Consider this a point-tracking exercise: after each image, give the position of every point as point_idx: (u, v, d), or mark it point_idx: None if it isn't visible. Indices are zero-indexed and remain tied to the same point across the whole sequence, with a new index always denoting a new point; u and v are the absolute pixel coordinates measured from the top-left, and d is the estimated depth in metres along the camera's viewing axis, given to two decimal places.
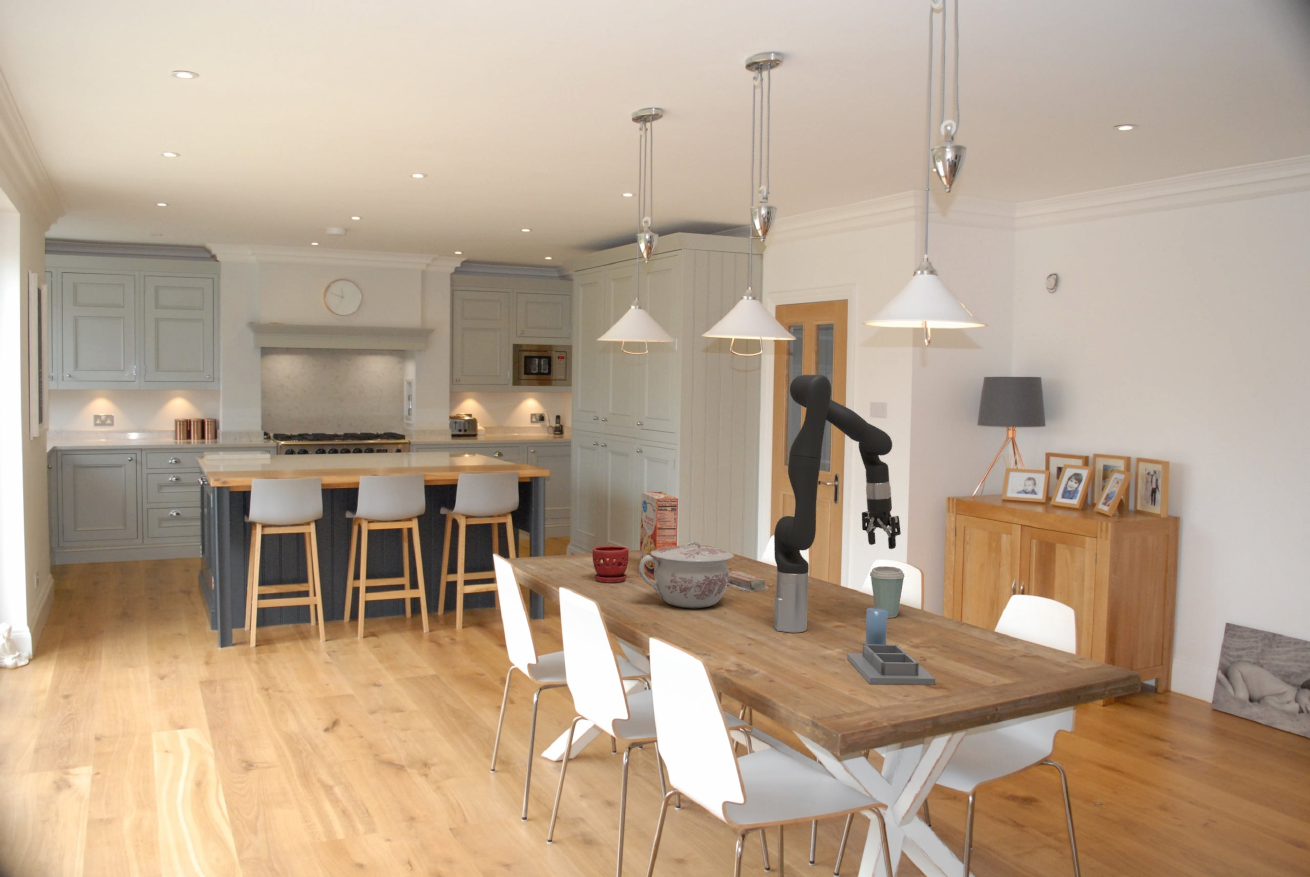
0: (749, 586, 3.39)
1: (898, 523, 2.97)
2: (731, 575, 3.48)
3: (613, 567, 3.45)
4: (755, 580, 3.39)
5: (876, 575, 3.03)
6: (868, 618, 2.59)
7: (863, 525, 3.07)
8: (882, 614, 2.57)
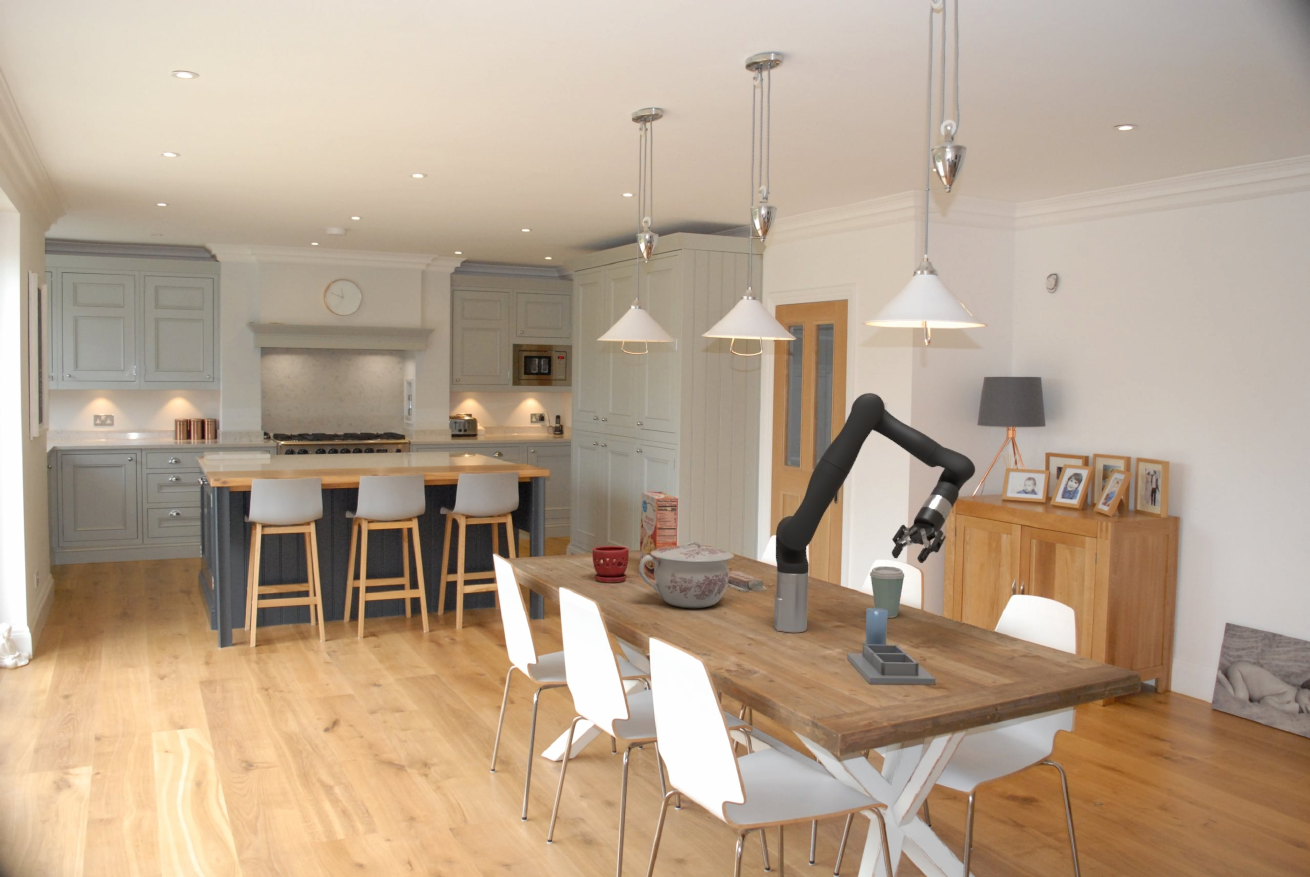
0: (746, 586, 3.38)
1: (942, 541, 2.65)
2: (730, 575, 3.48)
3: (613, 567, 3.45)
4: (753, 580, 3.39)
5: (876, 575, 3.03)
6: (868, 618, 2.59)
7: (896, 536, 2.74)
8: (881, 614, 2.57)
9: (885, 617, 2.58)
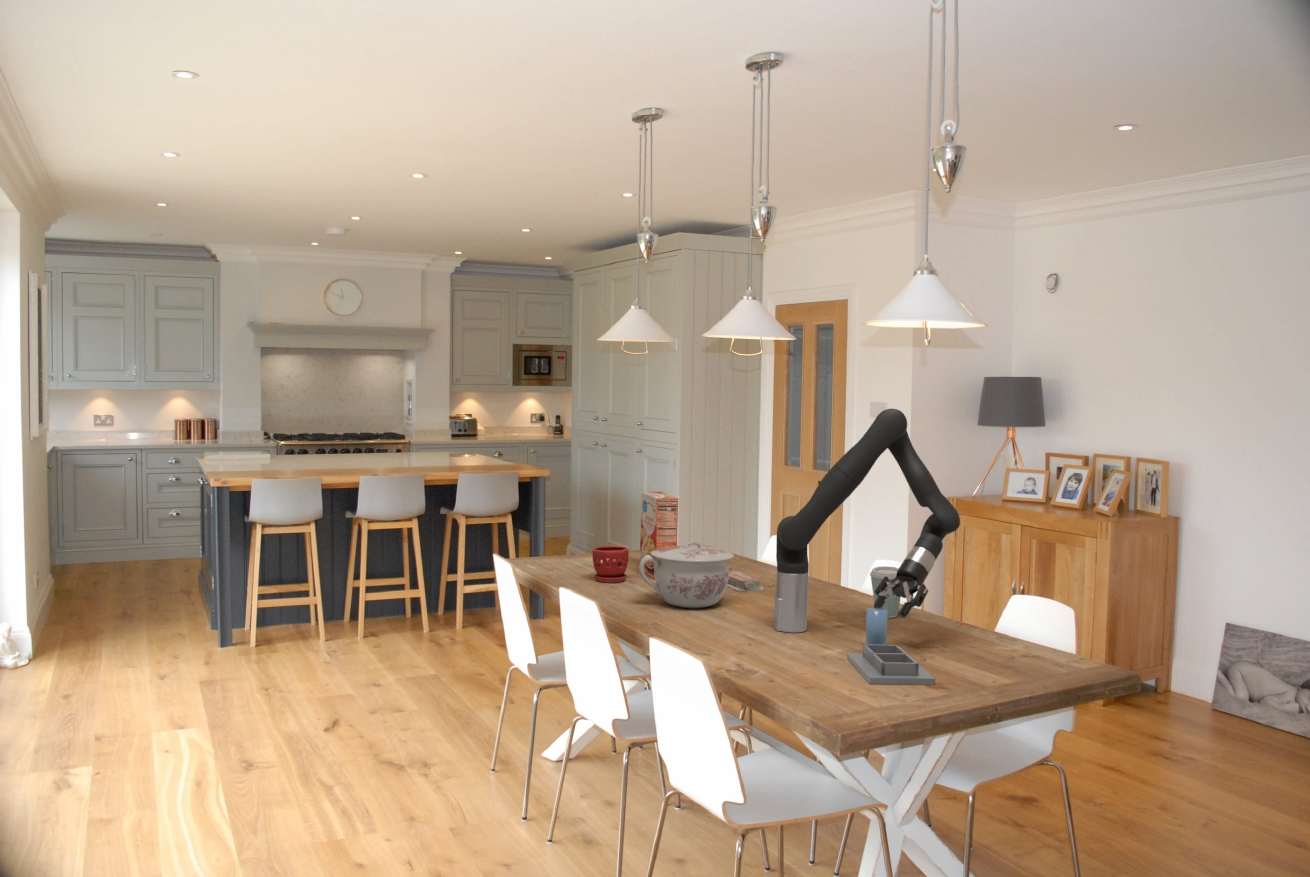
0: (743, 586, 3.38)
1: (924, 595, 2.61)
2: None
3: (613, 567, 3.45)
4: (749, 580, 3.38)
5: (876, 575, 3.03)
6: (868, 618, 2.59)
7: (878, 588, 2.70)
8: (882, 614, 2.57)
9: (885, 617, 2.58)
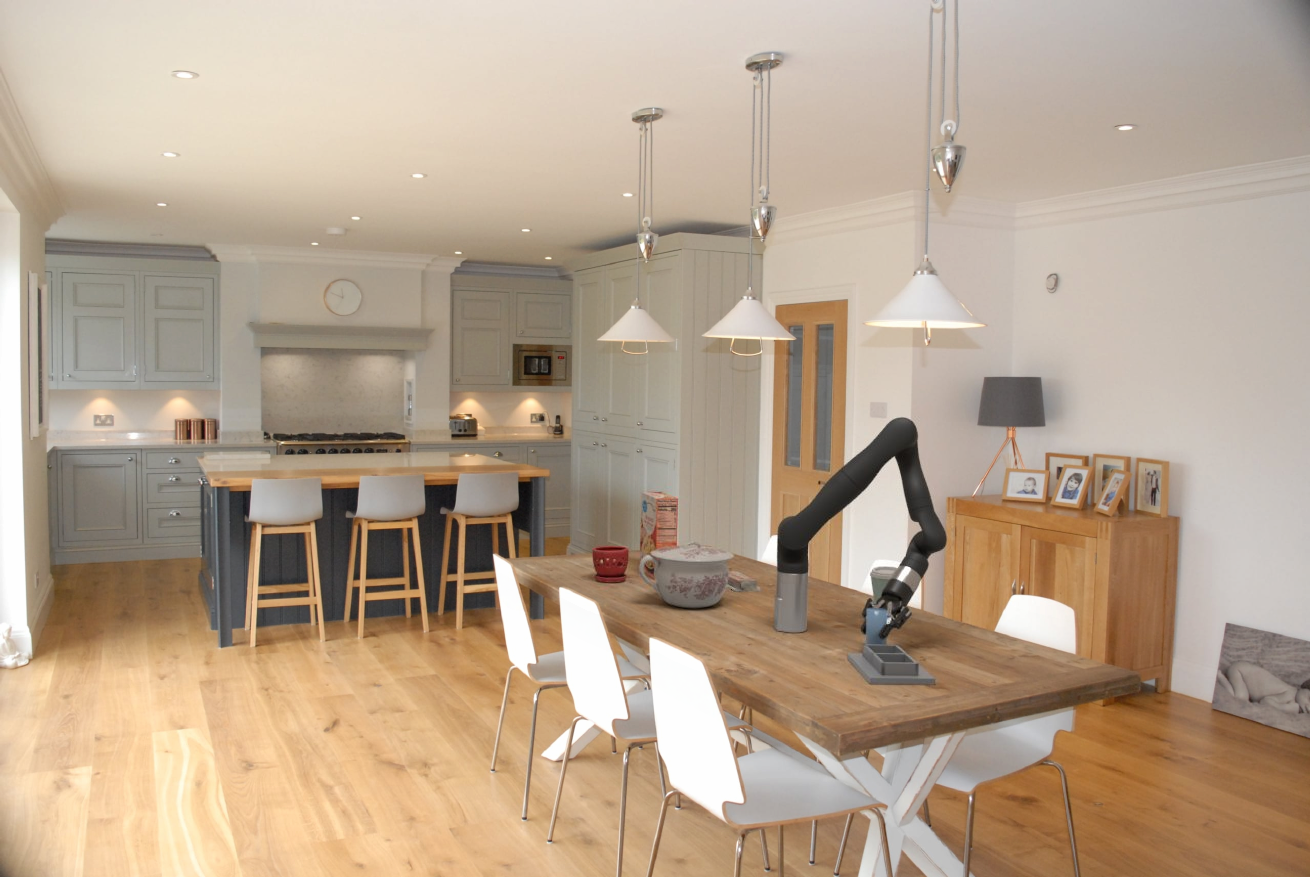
0: (739, 586, 3.38)
1: (906, 618, 2.58)
2: None
3: (613, 567, 3.45)
4: (745, 580, 3.38)
5: (876, 575, 3.03)
6: (868, 618, 2.59)
7: (865, 610, 2.65)
8: (882, 613, 2.57)
9: (885, 617, 2.58)
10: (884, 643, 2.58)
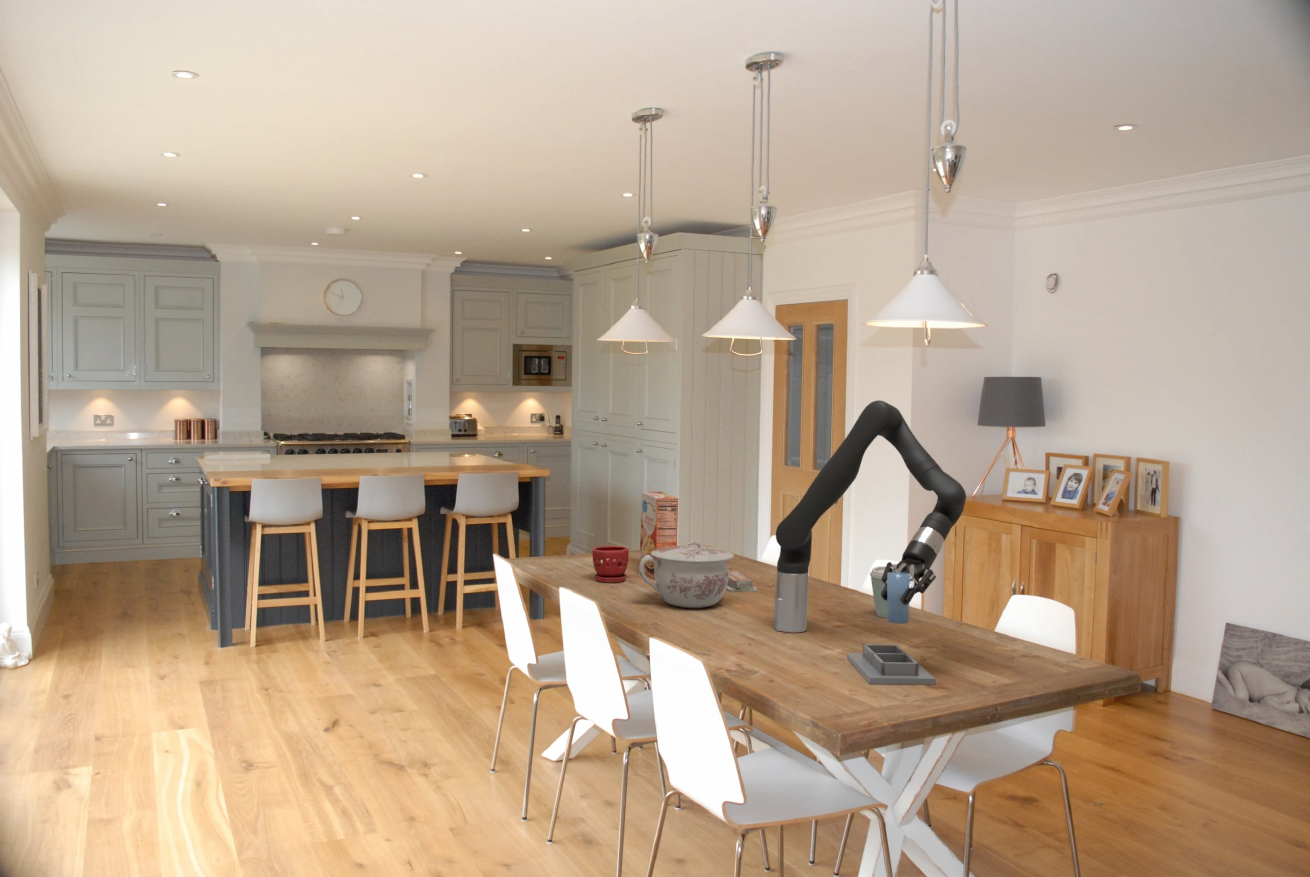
0: (735, 586, 3.38)
1: (930, 581, 2.40)
2: None
3: (613, 567, 3.45)
4: (741, 580, 3.38)
5: (876, 575, 3.03)
6: (889, 582, 2.41)
7: (884, 575, 2.48)
8: (904, 577, 2.40)
9: (908, 581, 2.40)
10: (907, 609, 2.41)
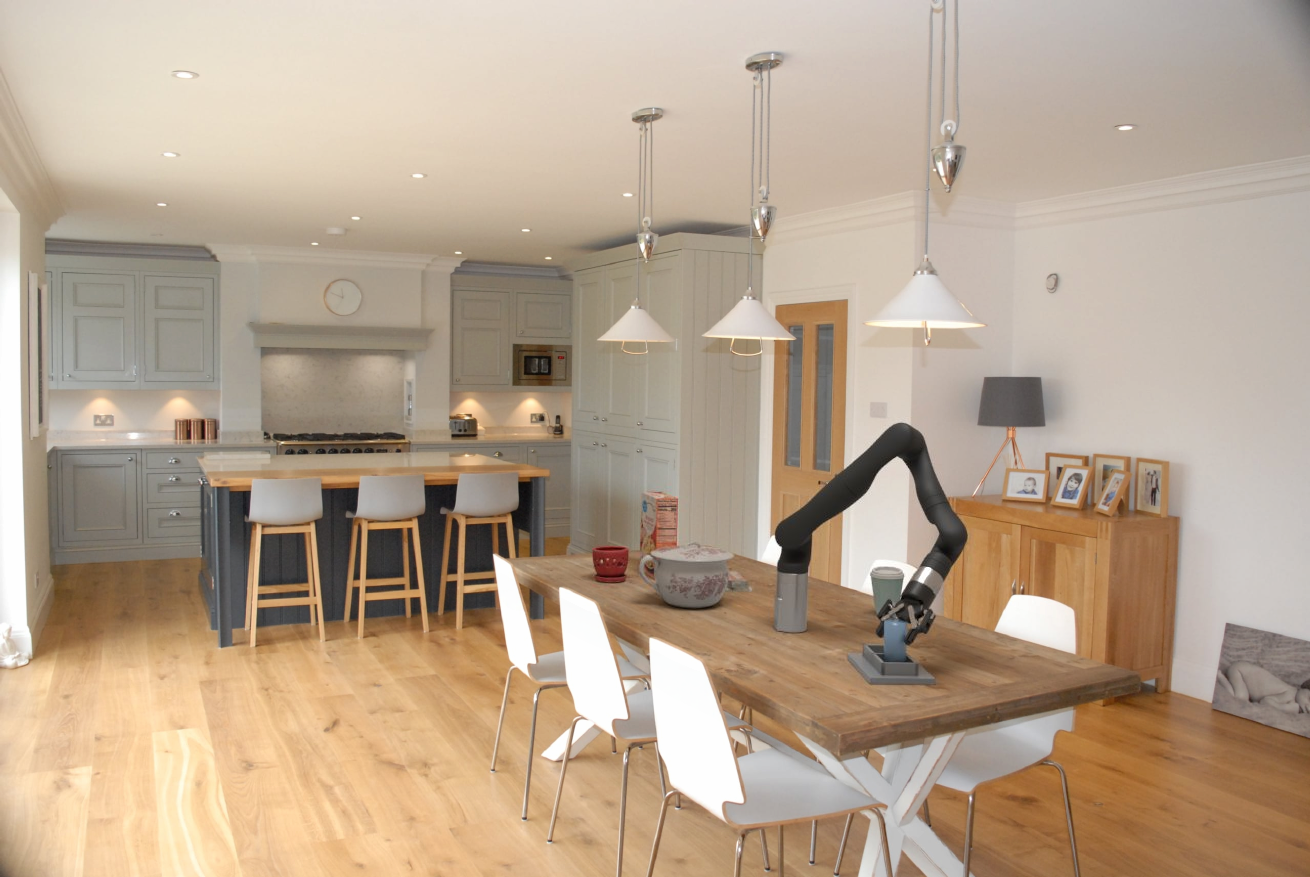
0: (730, 586, 3.38)
1: (931, 621, 2.37)
2: None
3: (613, 567, 3.45)
4: (736, 580, 3.38)
5: (876, 575, 3.03)
6: (886, 631, 2.39)
7: (881, 612, 2.46)
8: (901, 626, 2.37)
9: (905, 630, 2.38)
10: (904, 658, 2.38)
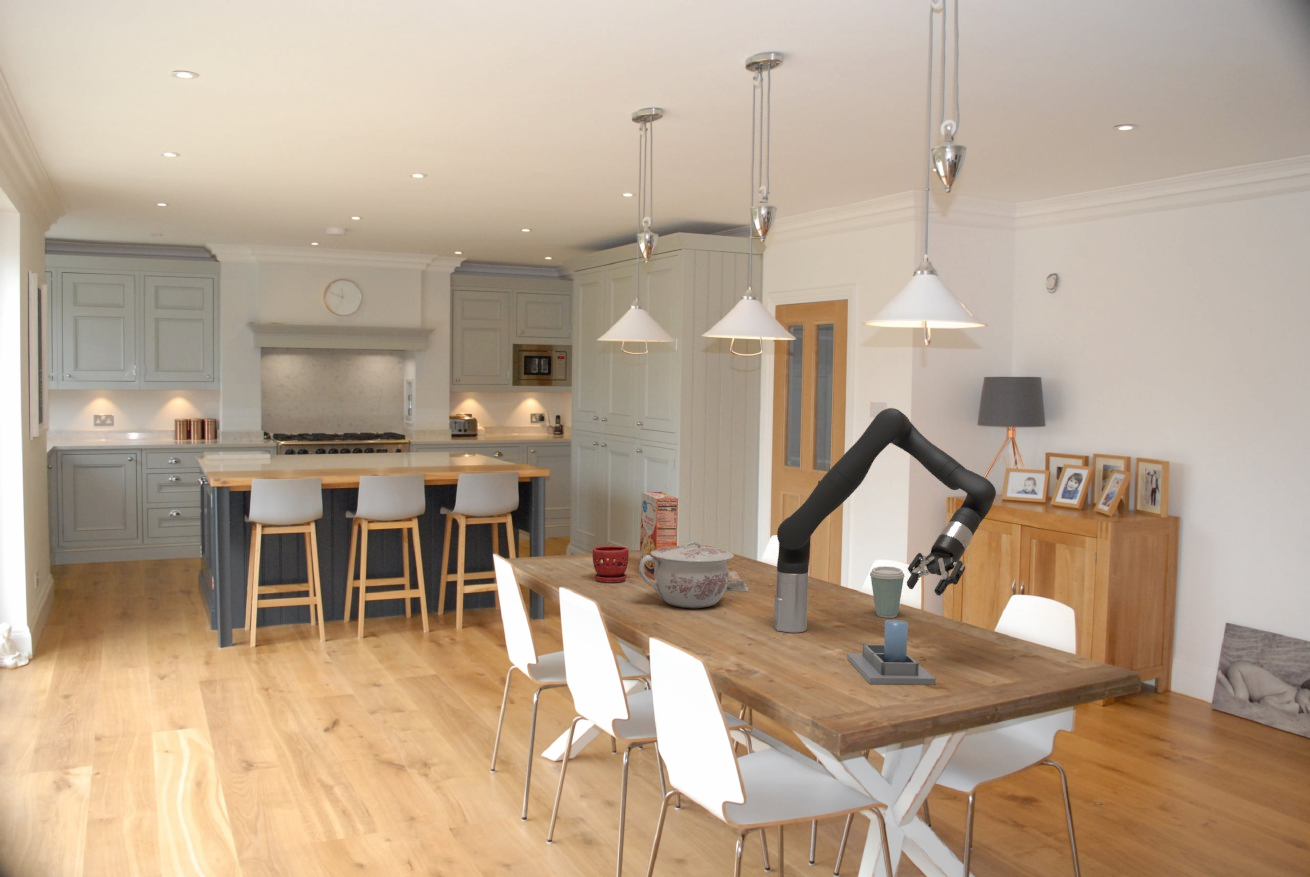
0: None
1: (961, 572, 2.46)
2: None
3: (613, 567, 3.45)
4: (732, 580, 3.38)
5: (876, 575, 3.03)
6: (887, 631, 2.39)
7: (911, 565, 2.55)
8: (902, 626, 2.37)
9: (905, 630, 2.38)
10: (904, 658, 2.38)
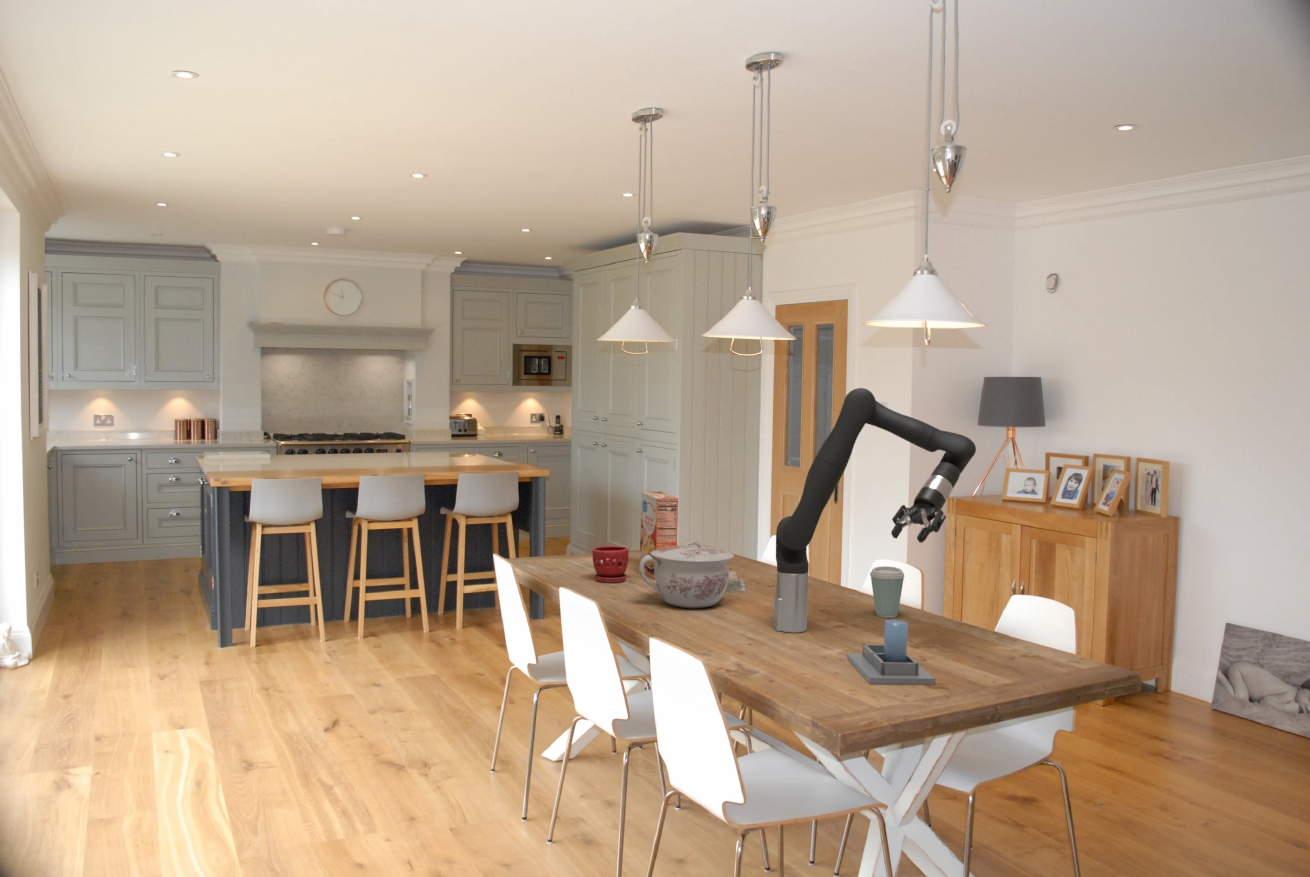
0: None
1: (942, 521, 2.63)
2: None
3: (613, 567, 3.45)
4: (729, 580, 3.38)
5: (876, 575, 3.03)
6: (887, 631, 2.39)
7: (896, 516, 2.72)
8: (902, 626, 2.37)
9: (905, 630, 2.38)
10: (904, 658, 2.38)
